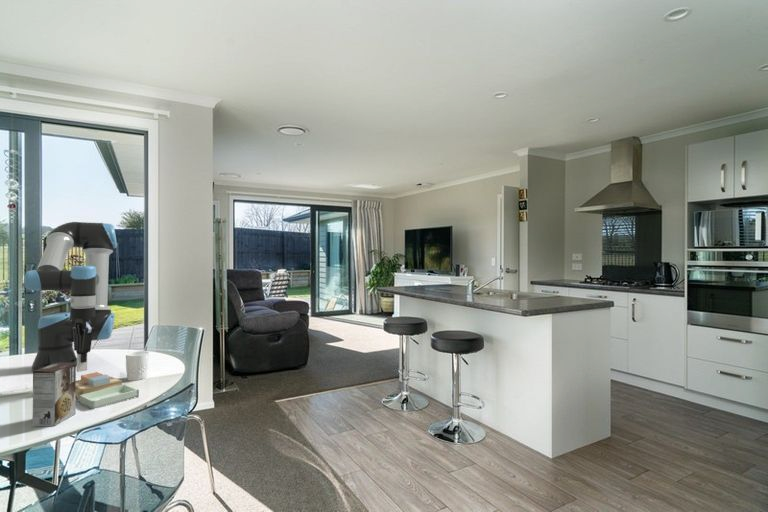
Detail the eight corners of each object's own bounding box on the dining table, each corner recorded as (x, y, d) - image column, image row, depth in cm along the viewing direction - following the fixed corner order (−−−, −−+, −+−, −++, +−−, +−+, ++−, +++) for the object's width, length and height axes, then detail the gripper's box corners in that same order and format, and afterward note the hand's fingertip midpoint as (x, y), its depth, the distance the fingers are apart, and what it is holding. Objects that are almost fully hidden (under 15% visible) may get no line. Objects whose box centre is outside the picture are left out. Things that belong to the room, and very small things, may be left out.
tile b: (87, 383, 141) (87, 378, 141) (103, 380, 145) (103, 374, 145) (93, 386, 138) (93, 380, 138) (109, 382, 143) (110, 377, 143)
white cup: (137, 382, 156) (137, 356, 156) (120, 380, 158) (120, 355, 158) (152, 376, 164) (153, 351, 164) (136, 374, 166) (136, 350, 166)
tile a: (80, 380, 144) (80, 375, 144) (96, 377, 148) (96, 372, 148) (86, 383, 141) (86, 377, 141) (102, 379, 146) (103, 374, 146)
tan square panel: (67, 393, 142) (67, 382, 142) (105, 385, 152) (105, 374, 152) (82, 401, 135) (83, 389, 135) (121, 391, 145) (122, 380, 145)
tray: (79, 402, 134) (79, 395, 134) (124, 391, 146) (125, 384, 146) (92, 409, 129) (92, 401, 129) (138, 396, 140) (138, 389, 140)
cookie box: (54, 414, 124) (55, 362, 124) (76, 414, 125) (77, 362, 125) (30, 426, 115) (31, 370, 115) (54, 426, 116) (55, 370, 116)
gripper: (63, 306, 150) (62, 370, 150) (78, 309, 143) (77, 376, 143) (87, 305, 156) (86, 365, 156) (102, 307, 149) (101, 371, 149)
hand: (81, 370), depth 149 cm, fingers closed
